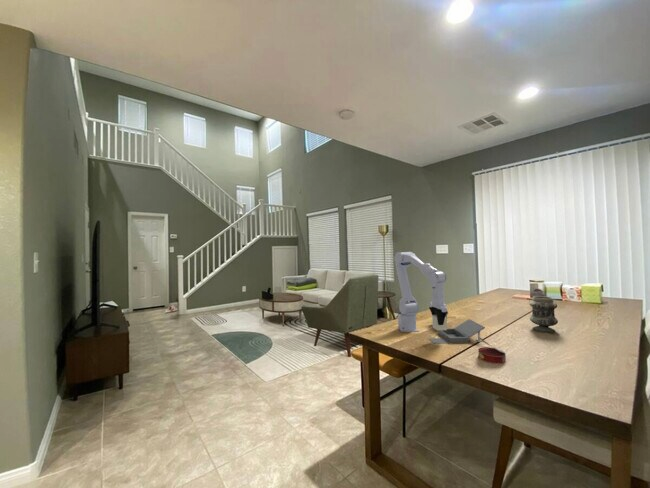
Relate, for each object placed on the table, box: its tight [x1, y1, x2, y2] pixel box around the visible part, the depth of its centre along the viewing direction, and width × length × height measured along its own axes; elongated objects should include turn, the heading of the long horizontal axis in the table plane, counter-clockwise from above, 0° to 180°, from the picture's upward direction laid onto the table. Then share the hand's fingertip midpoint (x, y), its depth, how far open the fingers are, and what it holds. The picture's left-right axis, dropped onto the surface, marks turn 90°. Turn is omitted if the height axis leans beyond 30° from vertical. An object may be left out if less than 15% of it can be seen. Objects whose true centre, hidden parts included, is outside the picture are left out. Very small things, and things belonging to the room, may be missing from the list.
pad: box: [428, 337, 449, 345], centre depth 137 cm, size 7×7×1 cm
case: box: [437, 318, 486, 344], centre depth 141 cm, size 17×14×7 cm
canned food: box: [477, 337, 507, 364], centre depth 116 cm, size 11×10×10 cm
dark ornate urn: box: [529, 295, 559, 334], centre depth 150 cm, size 12×12×18 cm
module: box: [431, 314, 448, 331], centre depth 137 cm, size 5×5×6 cm
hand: (438, 323), depth 137 cm, fingers closed on module, 5 cm apart
